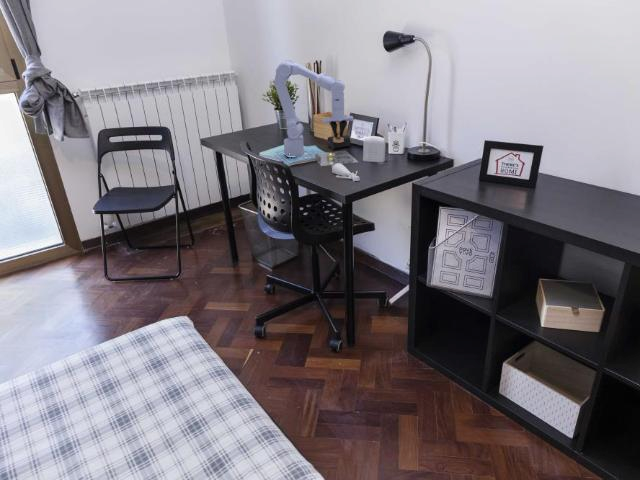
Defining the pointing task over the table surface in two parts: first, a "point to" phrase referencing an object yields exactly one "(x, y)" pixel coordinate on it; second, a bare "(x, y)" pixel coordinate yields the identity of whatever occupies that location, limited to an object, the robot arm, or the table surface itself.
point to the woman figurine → (344, 172)
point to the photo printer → (374, 149)
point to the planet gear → (338, 138)
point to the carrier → (334, 158)
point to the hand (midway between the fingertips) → (338, 137)
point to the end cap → (339, 145)
